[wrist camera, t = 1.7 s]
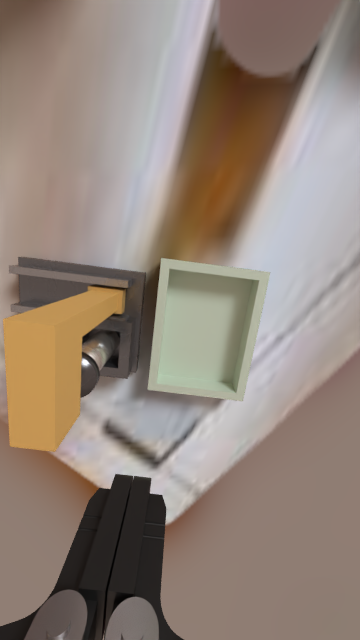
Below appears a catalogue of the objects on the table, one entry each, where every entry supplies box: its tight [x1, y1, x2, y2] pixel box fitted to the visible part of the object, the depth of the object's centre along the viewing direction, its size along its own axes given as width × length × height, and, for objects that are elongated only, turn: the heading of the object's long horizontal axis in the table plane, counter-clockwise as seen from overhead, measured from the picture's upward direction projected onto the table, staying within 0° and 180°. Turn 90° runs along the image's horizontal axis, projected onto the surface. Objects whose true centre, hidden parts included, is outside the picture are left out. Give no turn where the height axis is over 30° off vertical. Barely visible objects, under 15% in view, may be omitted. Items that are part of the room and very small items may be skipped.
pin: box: [80, 329, 120, 398], centre depth 26 cm, size 4×4×10 cm
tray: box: [148, 258, 270, 401], centre depth 30 cm, size 16×12×3 cm
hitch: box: [9, 257, 146, 379], centre depth 29 cm, size 13×15×4 cm
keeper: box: [3, 285, 126, 452], centre depth 23 cm, size 9×4×16 cm, turn 173°
